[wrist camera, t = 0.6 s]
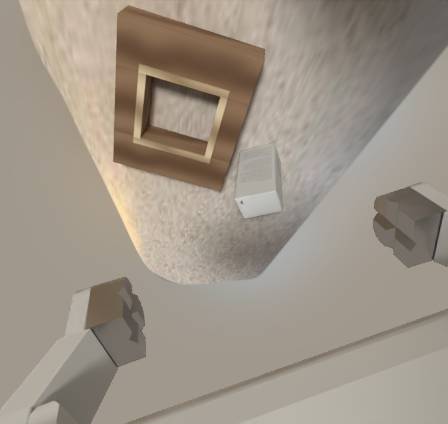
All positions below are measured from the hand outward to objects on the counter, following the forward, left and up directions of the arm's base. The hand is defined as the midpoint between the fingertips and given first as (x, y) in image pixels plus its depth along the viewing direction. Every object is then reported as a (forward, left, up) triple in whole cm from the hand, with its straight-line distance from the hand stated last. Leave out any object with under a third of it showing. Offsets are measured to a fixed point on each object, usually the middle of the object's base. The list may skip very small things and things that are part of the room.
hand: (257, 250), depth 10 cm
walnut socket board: (+17, -7, -39) cm, 44 cm away
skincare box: (+22, +7, -40) cm, 46 cm away
